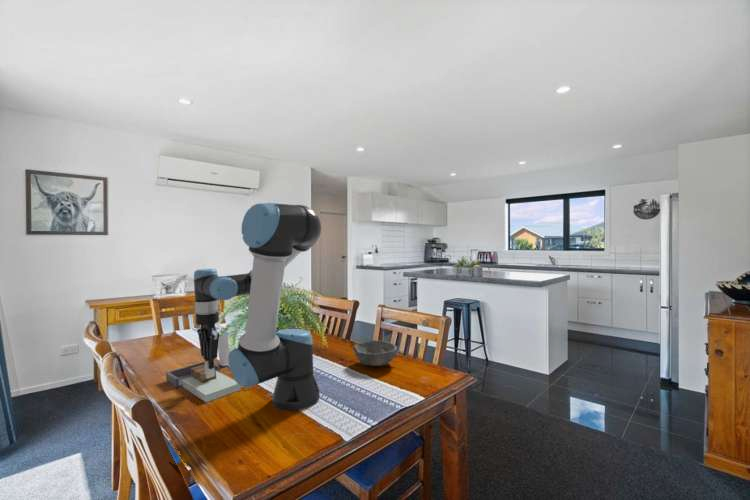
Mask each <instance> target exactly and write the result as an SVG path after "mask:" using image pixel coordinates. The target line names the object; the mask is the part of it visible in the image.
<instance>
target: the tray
mask: <svg viewBox="0 0 750 500" xmlns="http://www.w3.org/2000/svg"><path fill="white" fill-rule="evenodd" d="M200 365H205V361H201V362H199V363H195V364H191V365H187V366H184V367H180V368H177V369H173V370H170V371H166V372H165V376H166V377H165V378H166V380H165V381H166V382H167V383H168V384H169V385H171V386H172V387H174V388H175V389H179V388H183V387H182V380H183V379H187V378H190V377H192V376H191V368H194V367H197V366H200ZM214 370H216V371H218V372H220V373H221V365H220V364H219V365H218V364H216V363H215V362H214Z"/></svg>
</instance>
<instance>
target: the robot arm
mask: <svg viewBox="0 0 750 500" xmlns="http://www.w3.org/2000/svg"><path fill="white" fill-rule="evenodd" d="M240 229H241V235H242V237H241V238H242V240H243V242H244V243H245V245H246V246H248V251H249V253H250V254H251V255H252V256H253V261H252V267H251V268H252V269H251V270H250V271H249V272H248V273H240V274H239V273H238V274H234V275H233V274H231V275H225V276H224V275H223V276H222V275H221V276H219V275H218V271H217V269H215V268H201V269H200V268H199V269H196V270H195V271H194V273H193V287H194V288H193V289H194V312H195V313H196V314H195V323H196V325H197V326H199V327H200V328H198V329H197V334H198V341H199V347H200V355H201V357H203V359H204V362H205V378H210V377H214V376H215V371H214V363H215V359H218V354H219V353H218V340H219V336H220V335H219V333H218V334H217V329H216V324H217V323H218V322H219V321H220V313H219V304H220V301H229V300H231V299H232V298H235V297H240V296H246V295H249V296H248V298H249V299H248V304H247V306H248V307H247V315H246V324H245V332H244V333H243V334H241V336H239V338H238V345H237V346H238V347H237V348H236V347H235V348H234V347H233V350H231V352H230V353H229V356H228V362H229V366H228V368H229V370H230V374H231V376H232V379H233V380H235V381H236V382H237V383H238V384H239V385H240V388H241V387H242V388H245V389H247V388H248V389H249V388H251V387H254V386H259V384H262V383H265V382H268V381H270V380H273V379H275V378H276V383H275V386H274V389H273V394H272V405H273V407H274V408H276V409H279V410H281V411H299V410H304V409H307V408H311V406H314V405H315V404H316V403H318V402H319V400H320V389H319V387H318V383H317V381H316V378H315V376H314V354H313V353H314V352H313V351H314V350H313V349H314V348H313V345H314V343H313V337H312V334H311V332H310V331H307V330H305V329H300V328H299V329H298V328H284V329H279V330H277V326H278V320H279V314H280V313H279V312H280V305H281V304H280V303H281V299H282V298H281V296H282V289H283V283H284V282H283V281H284V274H285V269H286V267H287V266H288V265H289V264H290V263H291V262H292V261H293V260H295V259H296V258H298V257H297V256H299V255H300V254H301V253H305V252H307V251H309V250H310V249H311V248H312V247H313V246H314V245H315V244H316V243H317V242H318V240H319V238H320V235H321V233H322V224H321V220H320V217H319V215H318V214H317V213H316V212H315V210H313V209H312V208H311V207H309V206H307V205H303V204H286V203H277V202H276V203H275V202H266V203H255V204H253V205H251V207H250V208H248V209H247V211H246V212H245V214H244V216H243V219H242V221H241V228H240Z"/></svg>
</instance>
